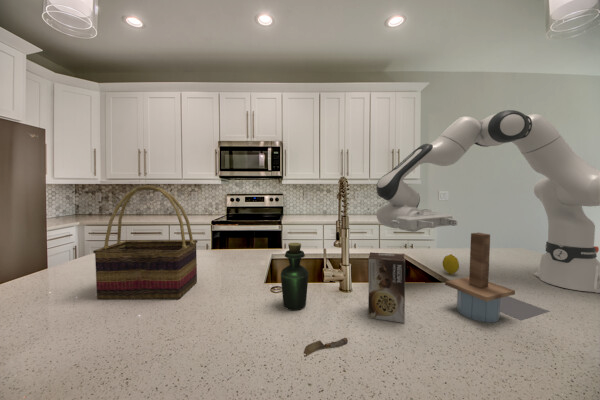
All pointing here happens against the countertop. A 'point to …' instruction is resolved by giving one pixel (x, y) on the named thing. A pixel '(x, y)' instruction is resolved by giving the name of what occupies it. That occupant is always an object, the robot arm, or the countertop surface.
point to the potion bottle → (294, 279)
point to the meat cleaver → (323, 346)
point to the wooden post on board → (480, 273)
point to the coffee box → (386, 287)
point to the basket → (146, 262)
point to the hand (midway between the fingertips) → (445, 224)
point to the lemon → (450, 264)
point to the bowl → (478, 308)
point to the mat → (519, 308)
